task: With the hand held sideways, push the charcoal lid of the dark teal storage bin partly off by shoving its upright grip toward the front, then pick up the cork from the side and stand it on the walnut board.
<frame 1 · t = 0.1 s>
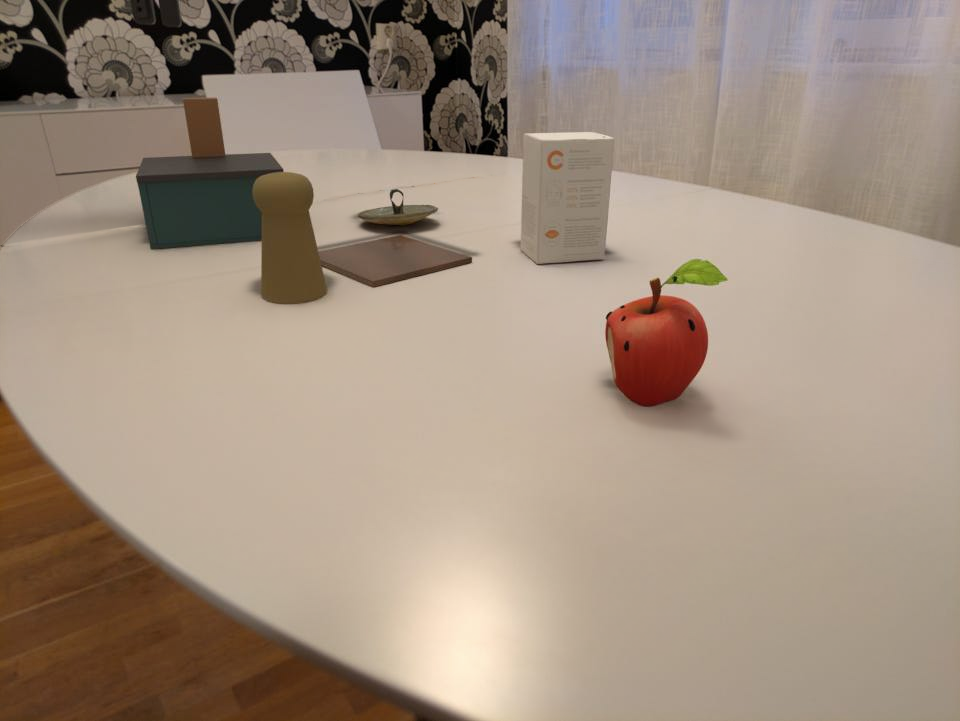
hand: (159, 25, 81), 23 cm above the table, tool pointing down, fingers open, 8 cm apart
bin lid: (211, 169, 82), point 7 cm above the table, touching bin
board: (388, 260, 73), on the table
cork: (294, 294, 63), on the table
small box: (561, 256, 76), on the table
bin: (220, 230, 85), on the table
lid: (398, 226, 89), on the table
apple: (651, 402, 45), on the table
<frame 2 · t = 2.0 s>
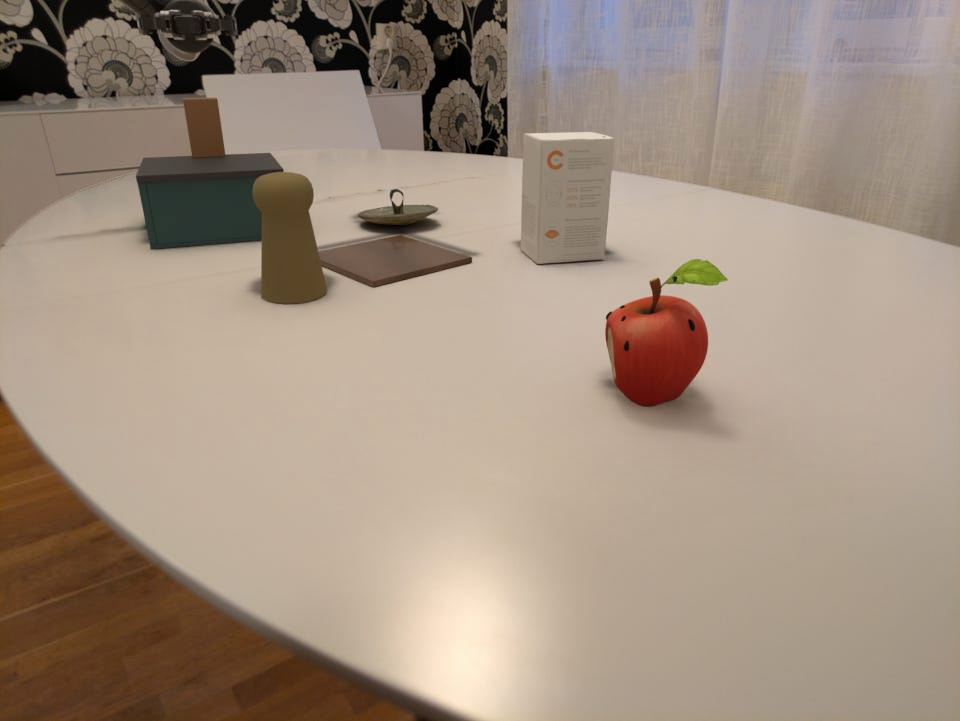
hand: (188, 23, 91), 24 cm above the table, tool horizontal, fingers open, 5 cm apart
nothing on the table moved.
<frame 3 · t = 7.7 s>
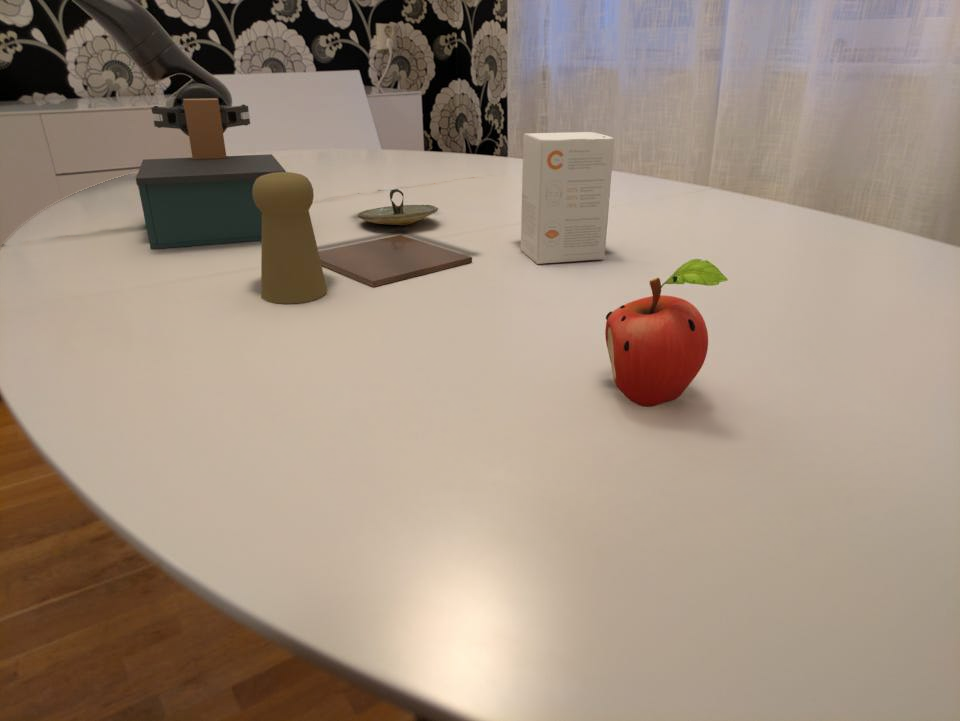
hand: (203, 121, 84), 13 cm above the table, tool horizontal, fingers closed
bin lid: (212, 171, 81), point 7 cm above the table, touching bin
everything else where it was.
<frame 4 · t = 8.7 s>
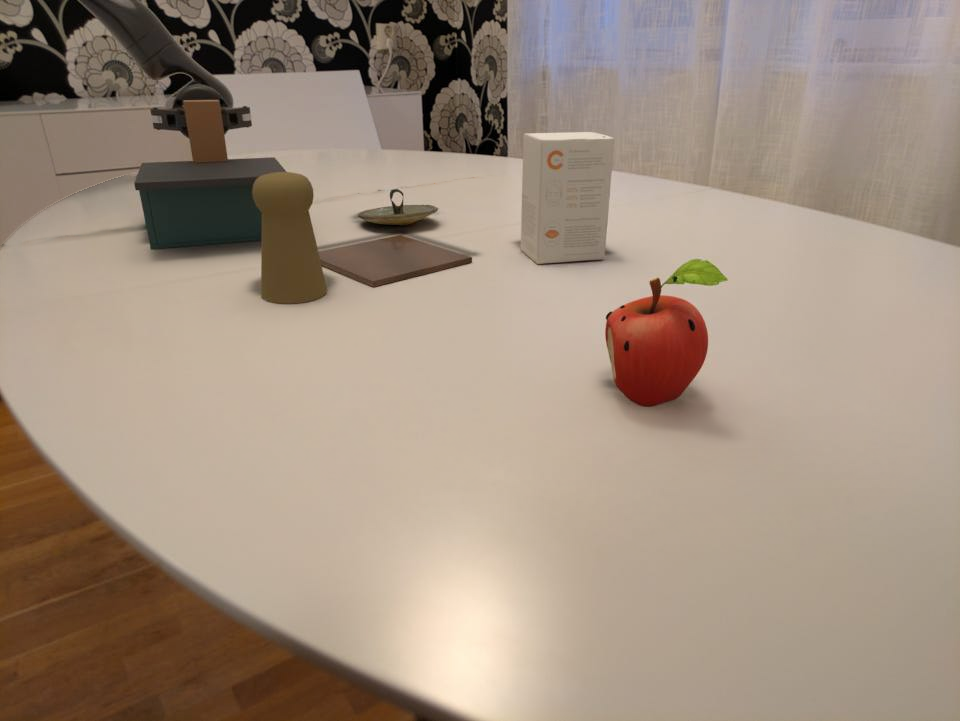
hand: (204, 123, 82), 13 cm above the table, tool horizontal, fingers closed
bin lid: (213, 175, 78), point 8 cm above the table, touching bin, gripper
everything else where it was.
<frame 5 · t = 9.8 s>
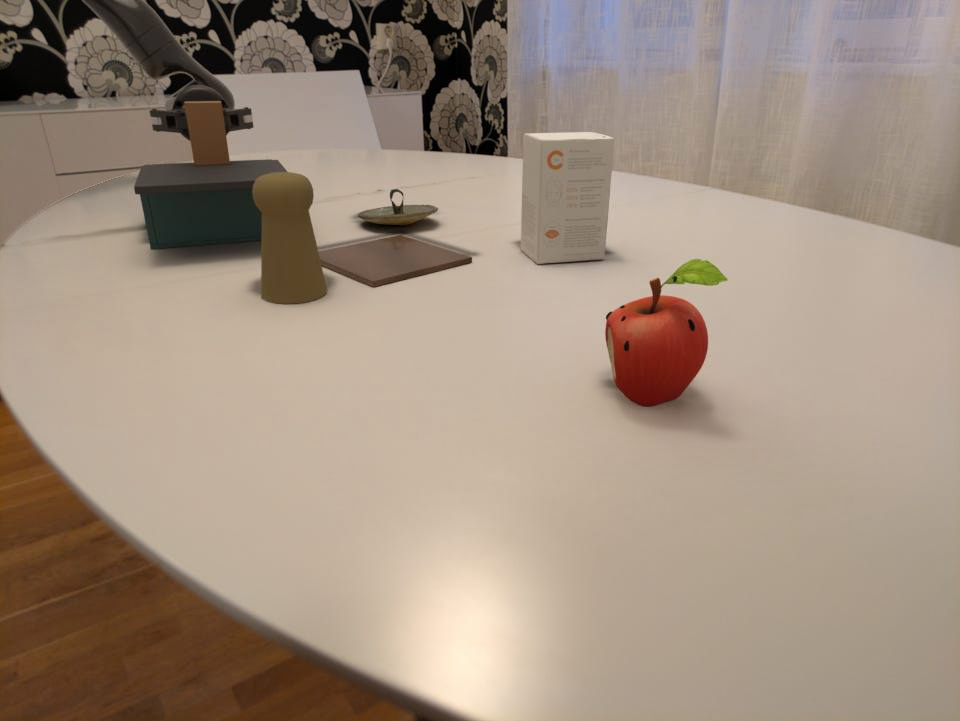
hand: (204, 125, 80), 13 cm above the table, tool horizontal, fingers closed
bin lid: (215, 178, 76), point 7 cm above the table, touching bin, gripper
everything else where it was.
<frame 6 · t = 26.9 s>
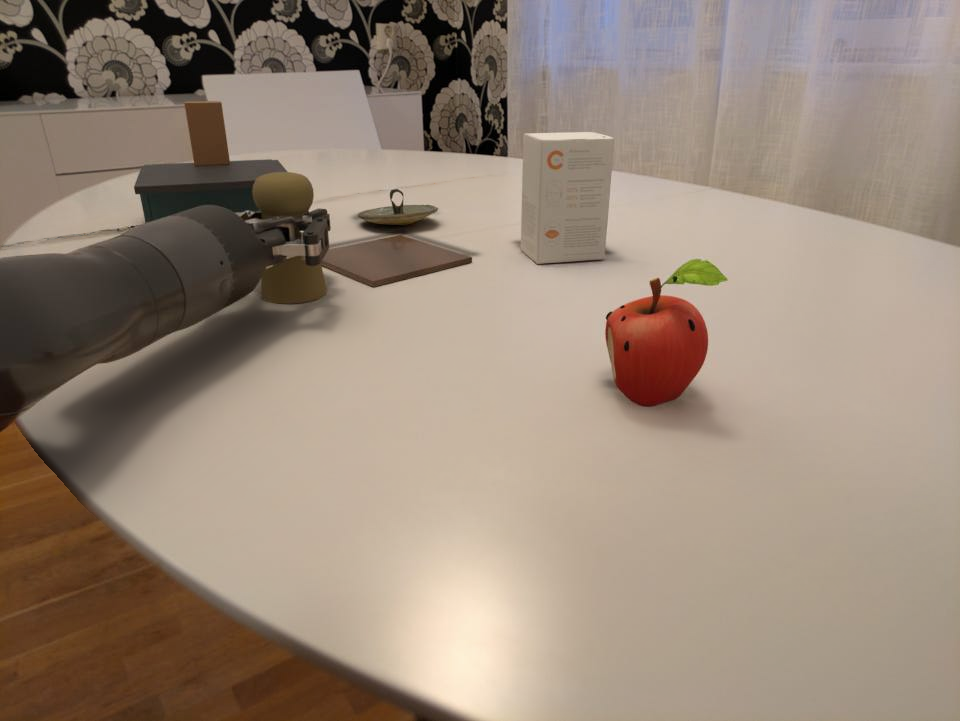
hand: (301, 218, 63), 7 cm above the table, tool horizontal, fingers closed on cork, 4 cm apart
bin lid: (215, 178, 76), point 7 cm above the table, touching bin
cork: (294, 294, 63), on the table, touching gripper
everything else where it was.
when the fingers open (7 cm above the table, at t = 34.2 s): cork stays where it is, resting on board.
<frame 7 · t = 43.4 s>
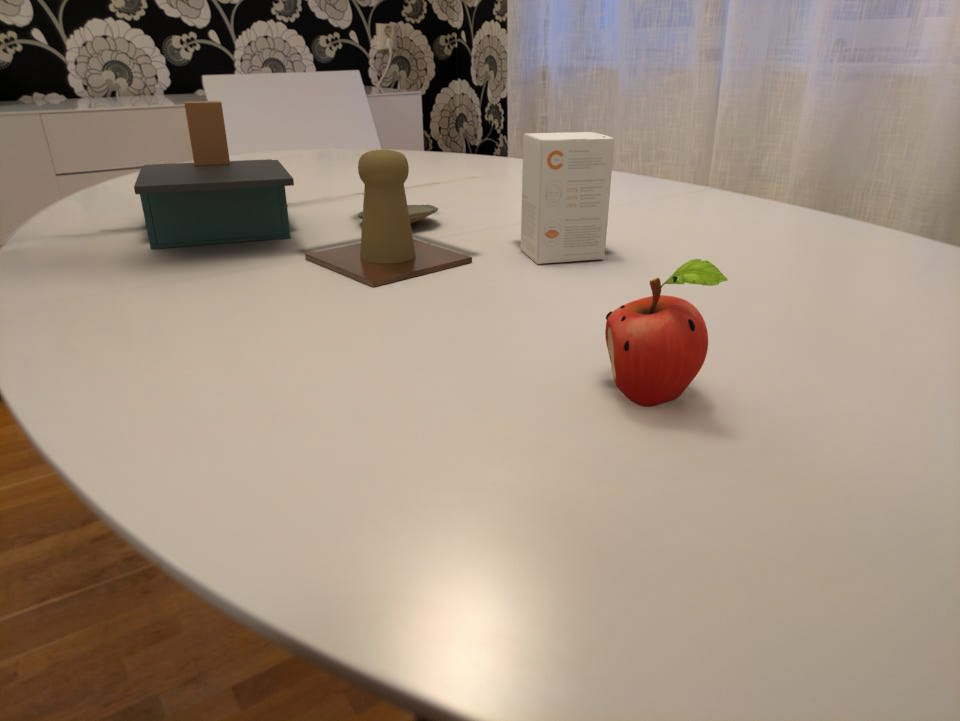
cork: (388, 257, 73), resting on board
everything else where it was.
at the end: bin lid moved 6.9 cm from its start; bin lid inside the target area on the bin (6.9 cm from its centre), point 7.5 cm above the bin's base; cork inside the target area on the board (0.1 cm from its centre), point 0.4 cm above the board's base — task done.
